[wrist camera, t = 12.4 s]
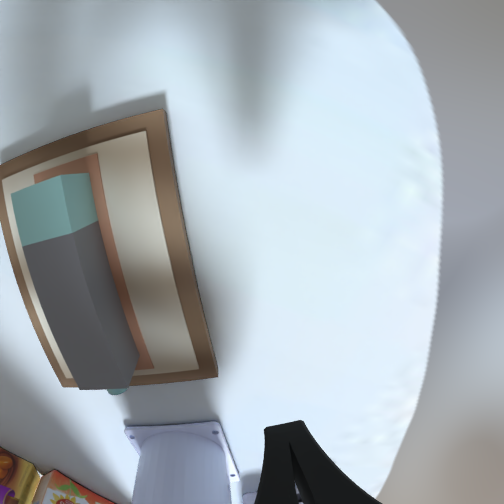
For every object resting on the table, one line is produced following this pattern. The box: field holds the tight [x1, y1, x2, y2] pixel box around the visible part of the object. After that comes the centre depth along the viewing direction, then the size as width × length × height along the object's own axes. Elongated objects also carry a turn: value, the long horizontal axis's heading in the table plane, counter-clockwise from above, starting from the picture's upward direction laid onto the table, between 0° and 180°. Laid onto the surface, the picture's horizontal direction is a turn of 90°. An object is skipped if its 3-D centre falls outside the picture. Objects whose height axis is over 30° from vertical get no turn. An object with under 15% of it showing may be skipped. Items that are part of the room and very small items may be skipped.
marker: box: [11, 173, 140, 395], centre depth 14 cm, size 12×3×3 cm, turn 9°
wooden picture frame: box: [0, 109, 218, 387], centre depth 16 cm, size 16×12×1 cm
